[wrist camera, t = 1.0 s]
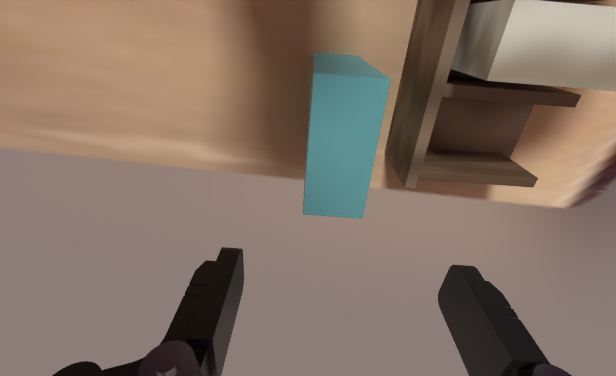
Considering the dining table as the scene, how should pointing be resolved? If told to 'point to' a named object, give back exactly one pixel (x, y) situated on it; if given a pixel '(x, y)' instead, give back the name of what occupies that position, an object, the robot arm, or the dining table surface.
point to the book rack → (491, 82)
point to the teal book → (342, 134)
